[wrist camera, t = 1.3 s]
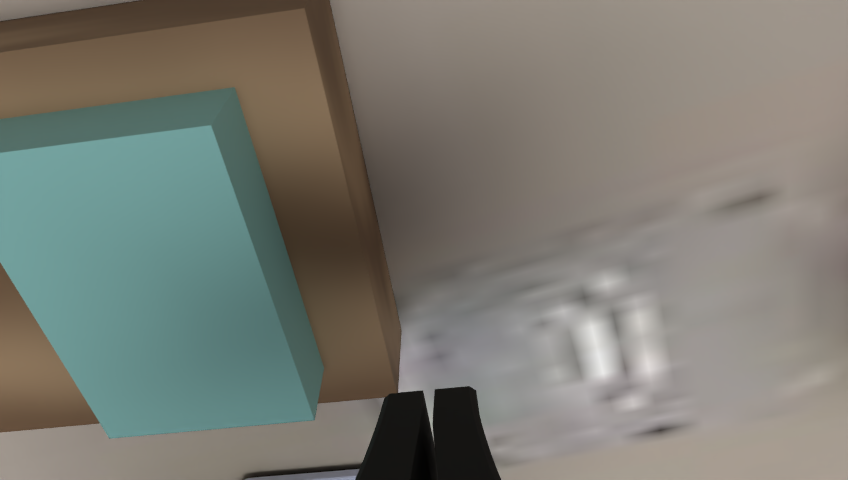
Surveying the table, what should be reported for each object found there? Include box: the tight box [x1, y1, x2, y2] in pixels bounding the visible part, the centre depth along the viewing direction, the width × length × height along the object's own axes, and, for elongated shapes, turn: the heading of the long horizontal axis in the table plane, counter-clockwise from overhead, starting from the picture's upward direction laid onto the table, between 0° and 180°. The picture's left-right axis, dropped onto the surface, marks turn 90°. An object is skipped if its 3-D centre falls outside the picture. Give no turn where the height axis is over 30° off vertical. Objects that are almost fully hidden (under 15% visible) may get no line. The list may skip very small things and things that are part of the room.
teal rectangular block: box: [0, 87, 324, 439], centre depth 17 cm, size 9×6×2 cm, turn 8°
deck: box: [0, 0, 401, 432], centre depth 20 cm, size 12×14×3 cm
